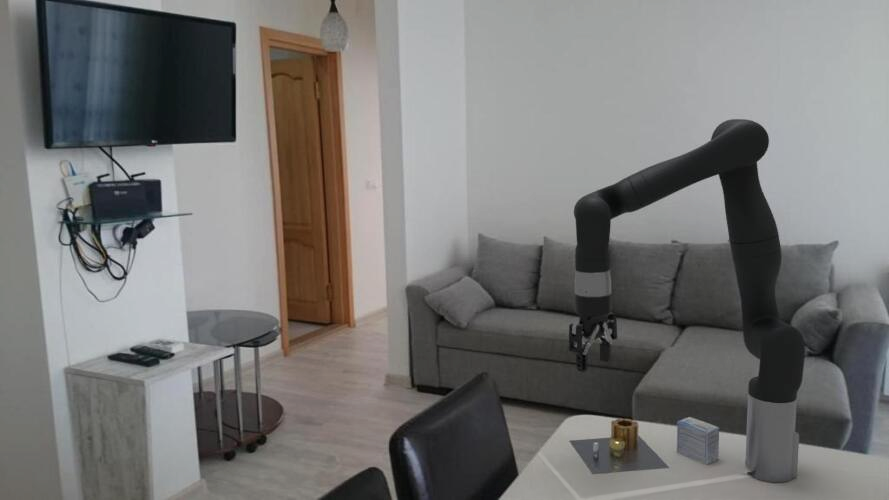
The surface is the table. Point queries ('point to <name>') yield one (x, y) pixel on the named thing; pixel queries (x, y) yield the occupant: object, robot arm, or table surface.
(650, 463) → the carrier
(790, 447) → the robot arm
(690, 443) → the medicine box
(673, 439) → the table surface
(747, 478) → the table surface
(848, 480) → the table surface
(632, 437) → the planet gear
